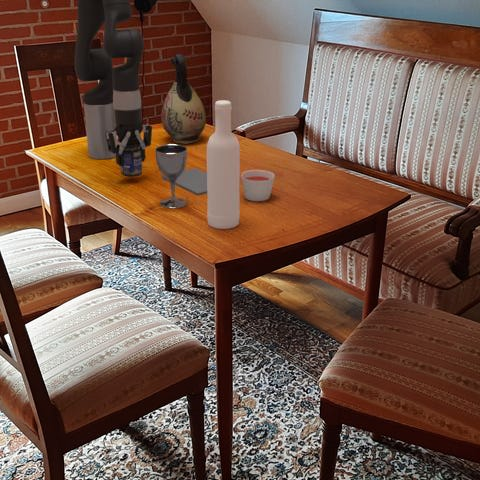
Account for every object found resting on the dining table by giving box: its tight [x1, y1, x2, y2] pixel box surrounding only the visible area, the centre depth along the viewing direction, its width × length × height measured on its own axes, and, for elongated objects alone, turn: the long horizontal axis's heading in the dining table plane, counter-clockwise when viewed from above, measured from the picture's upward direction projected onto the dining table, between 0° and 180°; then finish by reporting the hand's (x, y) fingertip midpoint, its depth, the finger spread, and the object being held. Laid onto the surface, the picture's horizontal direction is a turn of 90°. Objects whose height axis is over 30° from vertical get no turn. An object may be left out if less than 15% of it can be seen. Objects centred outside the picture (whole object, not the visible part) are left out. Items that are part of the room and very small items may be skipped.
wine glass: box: [155, 143, 188, 209], centre depth 162 cm, size 8×8×15 cm
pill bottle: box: [120, 137, 143, 178], centre depth 178 cm, size 6×6×11 cm
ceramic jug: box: [160, 53, 207, 145], centre depth 211 cm, size 17×15×30 cm
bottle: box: [206, 99, 241, 230], centre depth 147 cm, size 8×8×30 cm
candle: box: [240, 169, 275, 202], centre depth 168 cm, size 9×9×6 cm
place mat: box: [161, 167, 207, 196], centre depth 180 cm, size 18×12×1 cm, turn 39°
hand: (131, 163), depth 179 cm, fingers closed on pill bottle, 6 cm apart
